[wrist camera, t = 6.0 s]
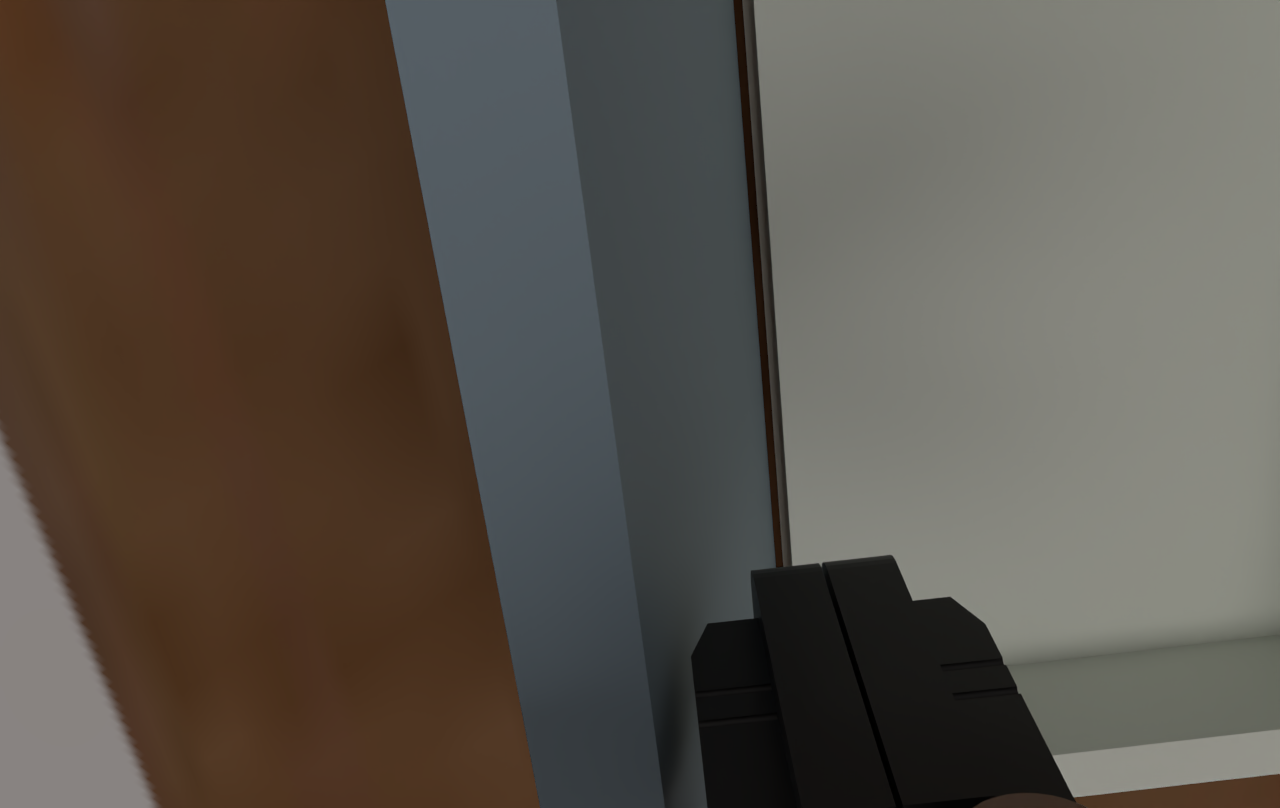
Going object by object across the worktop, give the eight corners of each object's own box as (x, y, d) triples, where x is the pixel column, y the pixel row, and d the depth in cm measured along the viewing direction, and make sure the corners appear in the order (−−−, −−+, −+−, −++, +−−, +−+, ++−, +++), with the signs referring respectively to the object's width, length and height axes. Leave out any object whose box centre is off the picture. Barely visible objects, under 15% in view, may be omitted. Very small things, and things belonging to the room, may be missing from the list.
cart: (1418, -342, 17) (1906, -469, 11) (1283, 626, 24) (1532, 894, 18) (723, -256, 17) (801, -331, 11) (791, 683, 24) (864, 970, 18)
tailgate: (725, -159, 17) (534, -154, 7) (789, 712, 23) (731, 1297, 14) (643, -149, 17) (359, -129, 8) (729, 710, 23) (631, 1285, 14)
